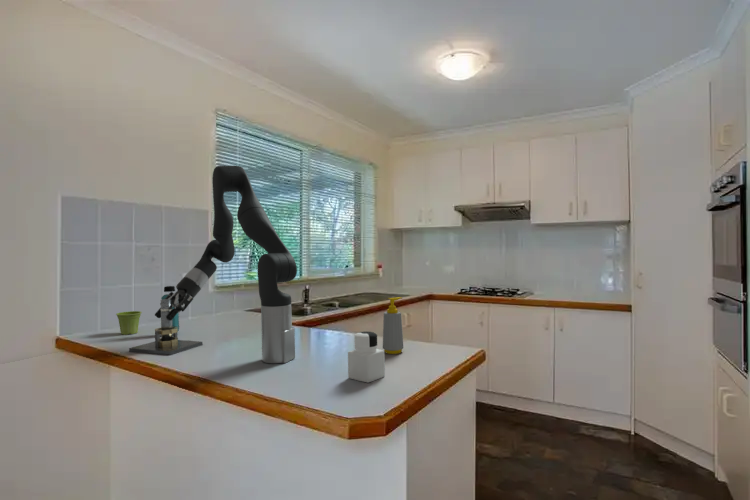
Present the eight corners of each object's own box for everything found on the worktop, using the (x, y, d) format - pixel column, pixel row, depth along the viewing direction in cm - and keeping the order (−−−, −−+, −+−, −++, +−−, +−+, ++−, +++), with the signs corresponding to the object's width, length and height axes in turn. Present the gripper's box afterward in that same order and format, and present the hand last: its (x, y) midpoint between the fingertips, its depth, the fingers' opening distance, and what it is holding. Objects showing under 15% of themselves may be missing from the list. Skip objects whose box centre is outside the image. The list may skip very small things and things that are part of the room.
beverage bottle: (182, 333, 179) (181, 285, 179) (173, 336, 172) (172, 286, 172) (167, 333, 179) (166, 285, 179) (158, 336, 173) (157, 286, 173)
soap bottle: (407, 353, 140) (406, 298, 139) (387, 355, 137) (386, 299, 137) (398, 348, 146) (397, 295, 146) (379, 350, 143) (378, 297, 143)
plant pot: (147, 331, 185) (146, 311, 184) (131, 335, 175) (131, 314, 175) (127, 331, 186) (126, 311, 186) (111, 335, 176) (110, 314, 176)
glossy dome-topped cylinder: (175, 343, 153) (174, 299, 153) (167, 346, 150) (166, 300, 150) (167, 343, 155) (166, 298, 154) (158, 345, 151) (157, 300, 151)
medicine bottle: (365, 371, 120) (364, 329, 120) (385, 376, 115) (384, 331, 115) (347, 378, 114) (346, 333, 114) (368, 383, 110) (367, 336, 110)
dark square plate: (202, 344, 156) (201, 325, 156) (170, 355, 142) (169, 334, 142) (163, 342, 162) (163, 323, 162) (129, 351, 148) (128, 331, 148)
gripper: (176, 275, 162) (145, 309, 153) (195, 276, 153) (163, 313, 145) (190, 288, 166) (160, 322, 158) (209, 290, 157) (179, 326, 149)
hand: (162, 317), depth 151 cm, fingers open, 8 cm apart
